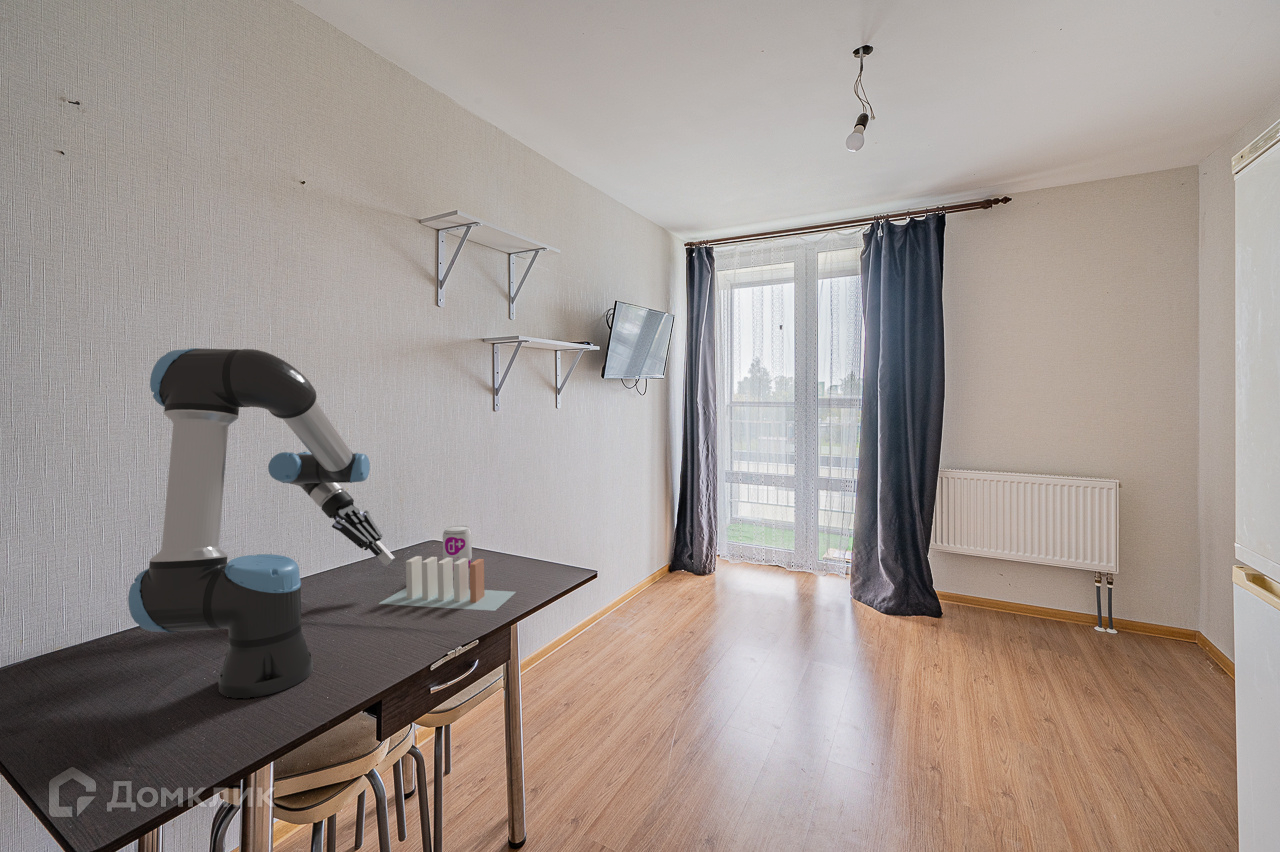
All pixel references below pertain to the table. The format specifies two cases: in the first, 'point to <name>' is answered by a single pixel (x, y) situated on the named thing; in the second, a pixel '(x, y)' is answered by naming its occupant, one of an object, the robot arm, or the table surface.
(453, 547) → the supplement can
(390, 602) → the domino board
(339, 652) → the table surface
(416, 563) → the domino
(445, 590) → the domino
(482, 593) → the domino
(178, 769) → the table surface
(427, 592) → the domino
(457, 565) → the domino
